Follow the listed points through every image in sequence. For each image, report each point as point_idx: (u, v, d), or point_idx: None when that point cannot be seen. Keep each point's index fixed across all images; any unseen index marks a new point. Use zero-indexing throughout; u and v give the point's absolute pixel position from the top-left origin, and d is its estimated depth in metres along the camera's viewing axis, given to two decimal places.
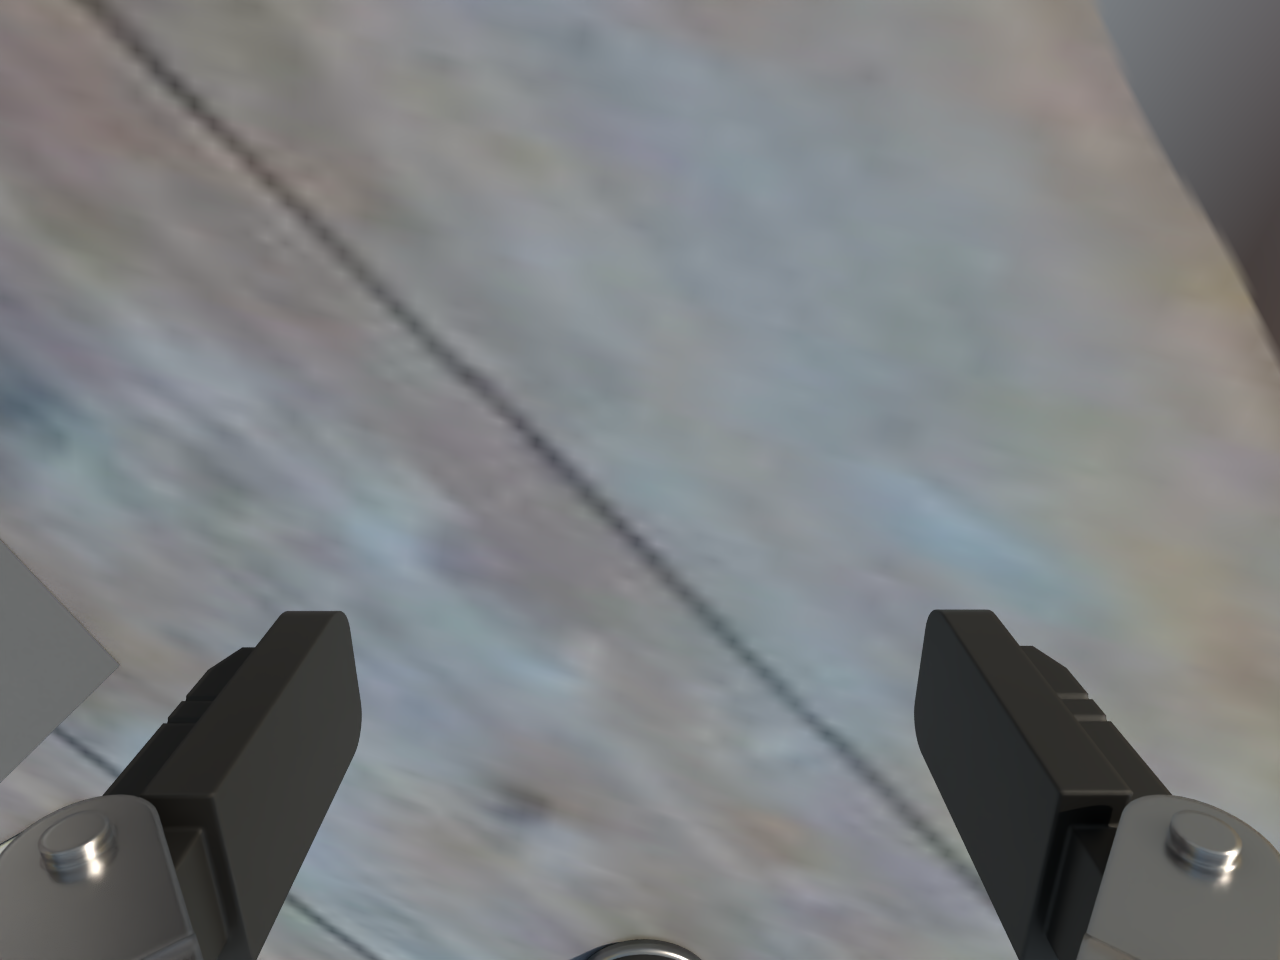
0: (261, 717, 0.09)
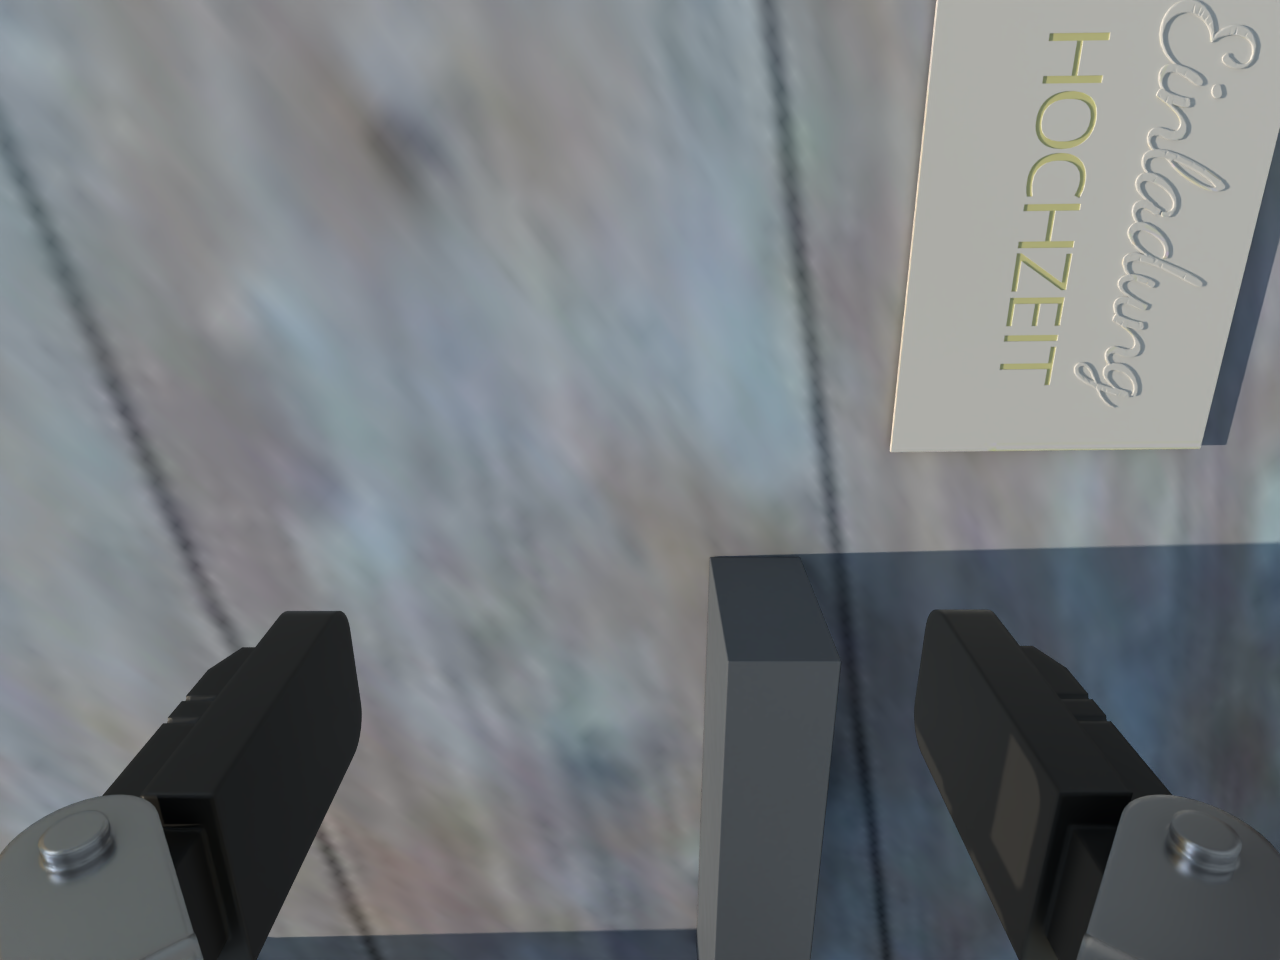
0: (260, 717, 0.09)
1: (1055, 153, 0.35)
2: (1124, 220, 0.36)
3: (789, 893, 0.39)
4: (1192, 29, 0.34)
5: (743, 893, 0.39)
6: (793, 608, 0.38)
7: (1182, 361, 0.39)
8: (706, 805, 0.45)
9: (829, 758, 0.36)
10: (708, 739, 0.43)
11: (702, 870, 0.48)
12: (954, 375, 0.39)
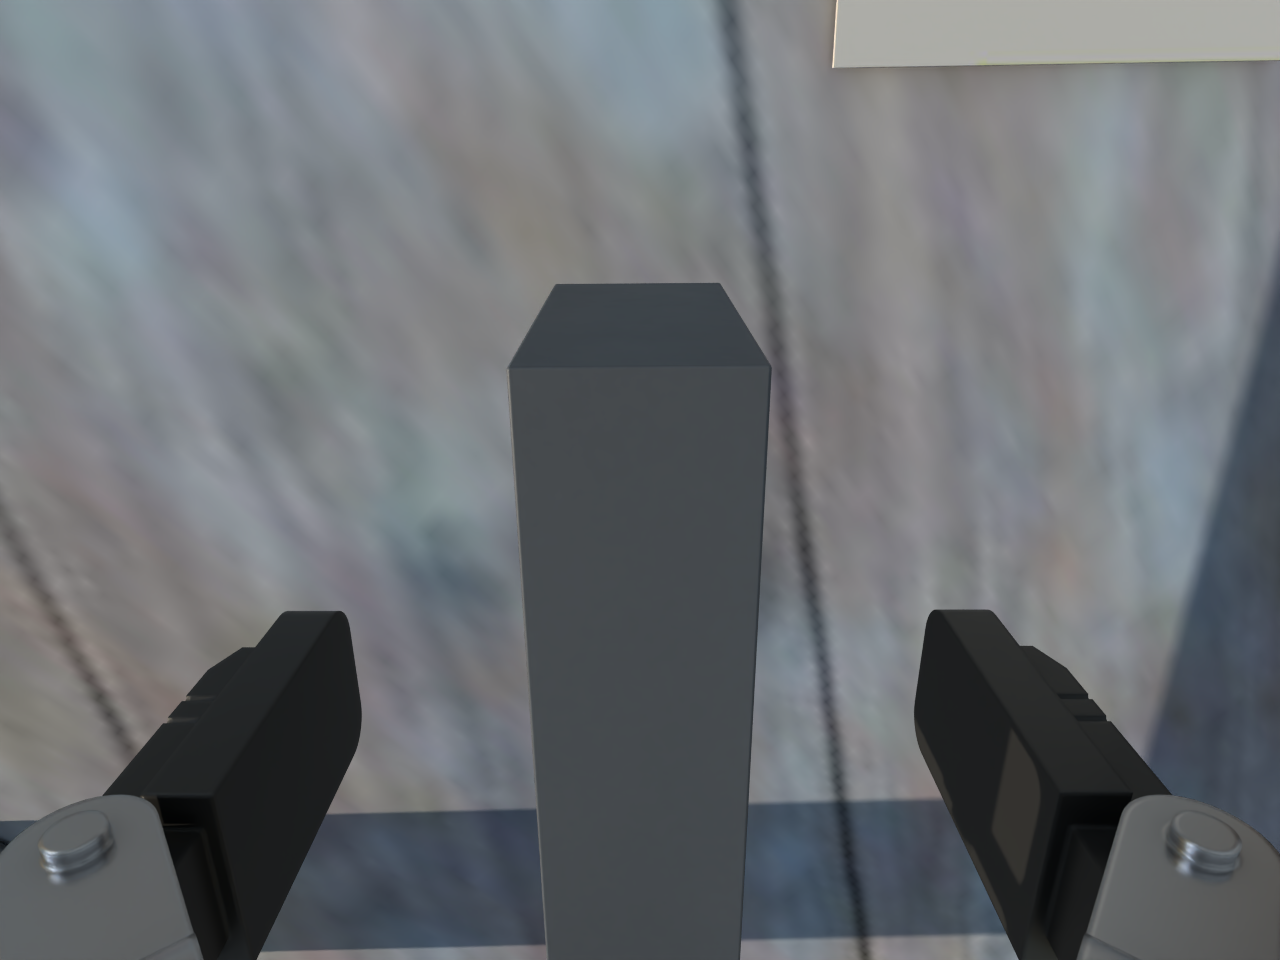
0: (260, 717, 0.09)
1: None
2: None
3: (688, 899, 0.19)
4: None
5: (595, 900, 0.19)
6: (687, 318, 0.19)
7: None
8: None
9: (754, 608, 0.16)
10: None
11: None
12: None
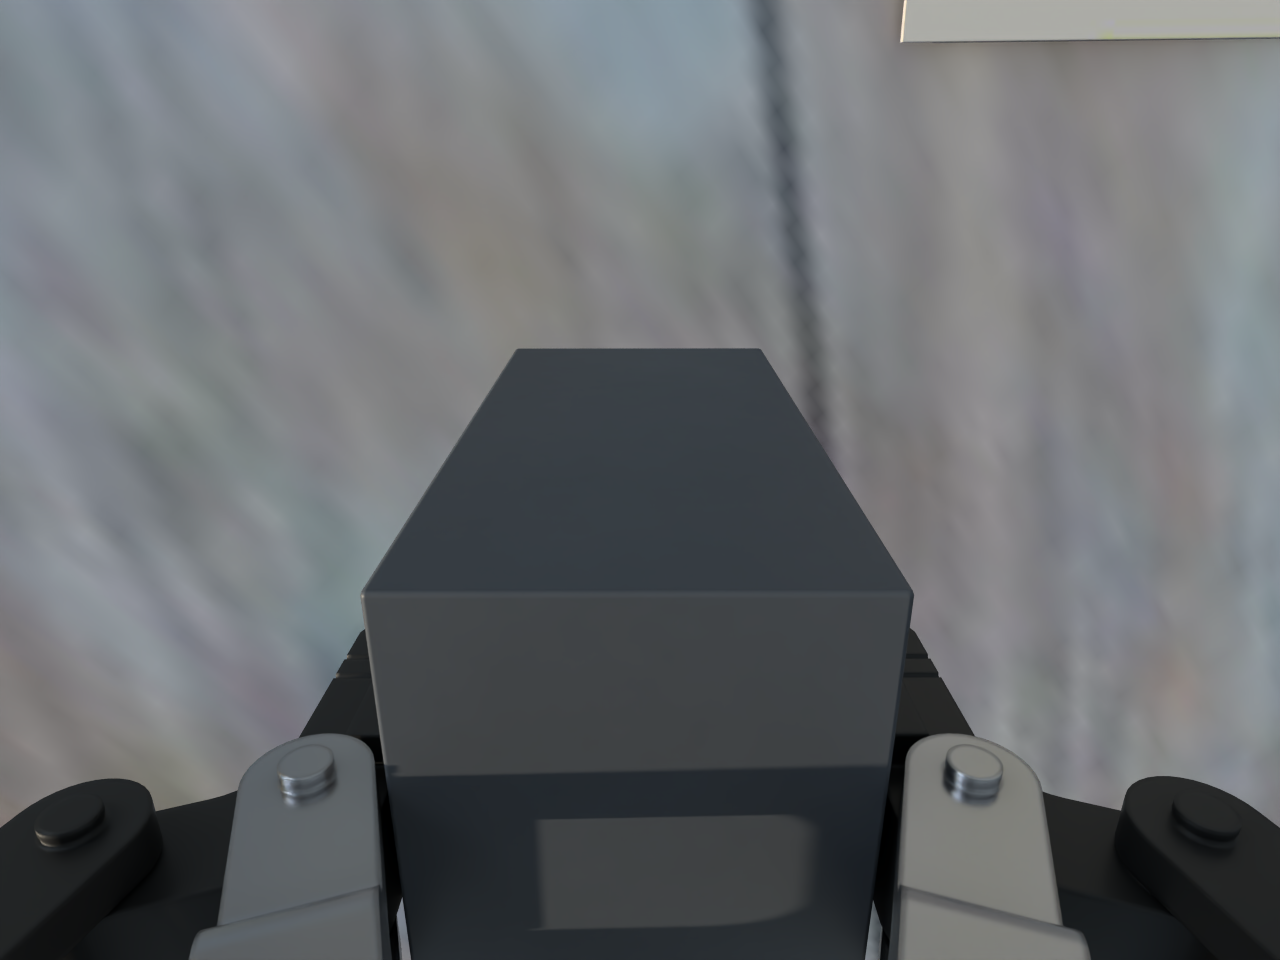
0: None
1: None
2: None
3: None
4: None
5: None
6: (721, 433, 0.11)
7: None
8: None
9: None
10: None
11: None
12: None
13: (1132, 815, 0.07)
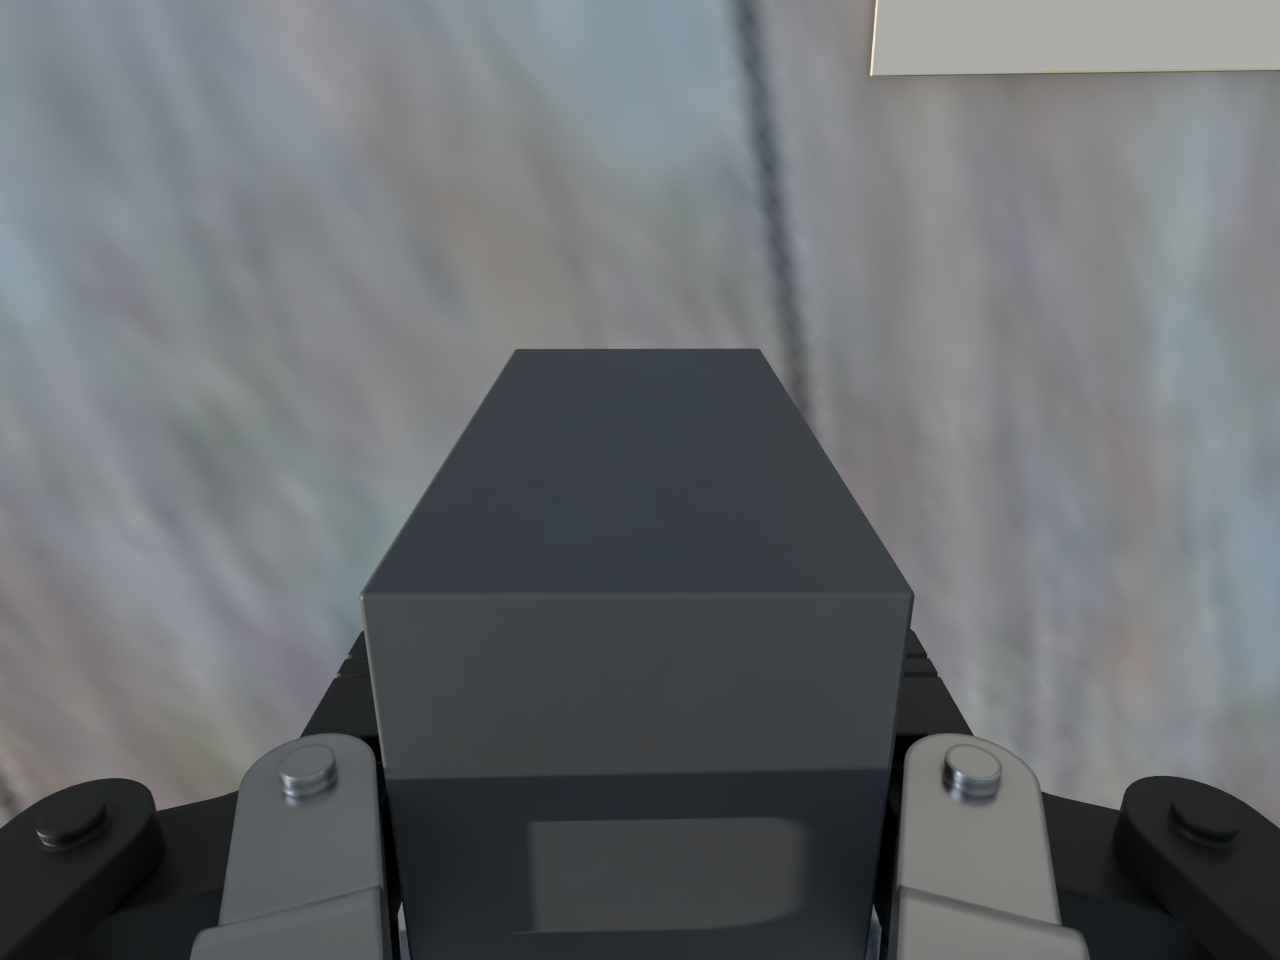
0: None
1: None
2: None
3: None
4: None
5: None
6: (720, 434, 0.11)
7: None
8: None
9: None
10: None
11: None
12: None
13: (1131, 815, 0.07)
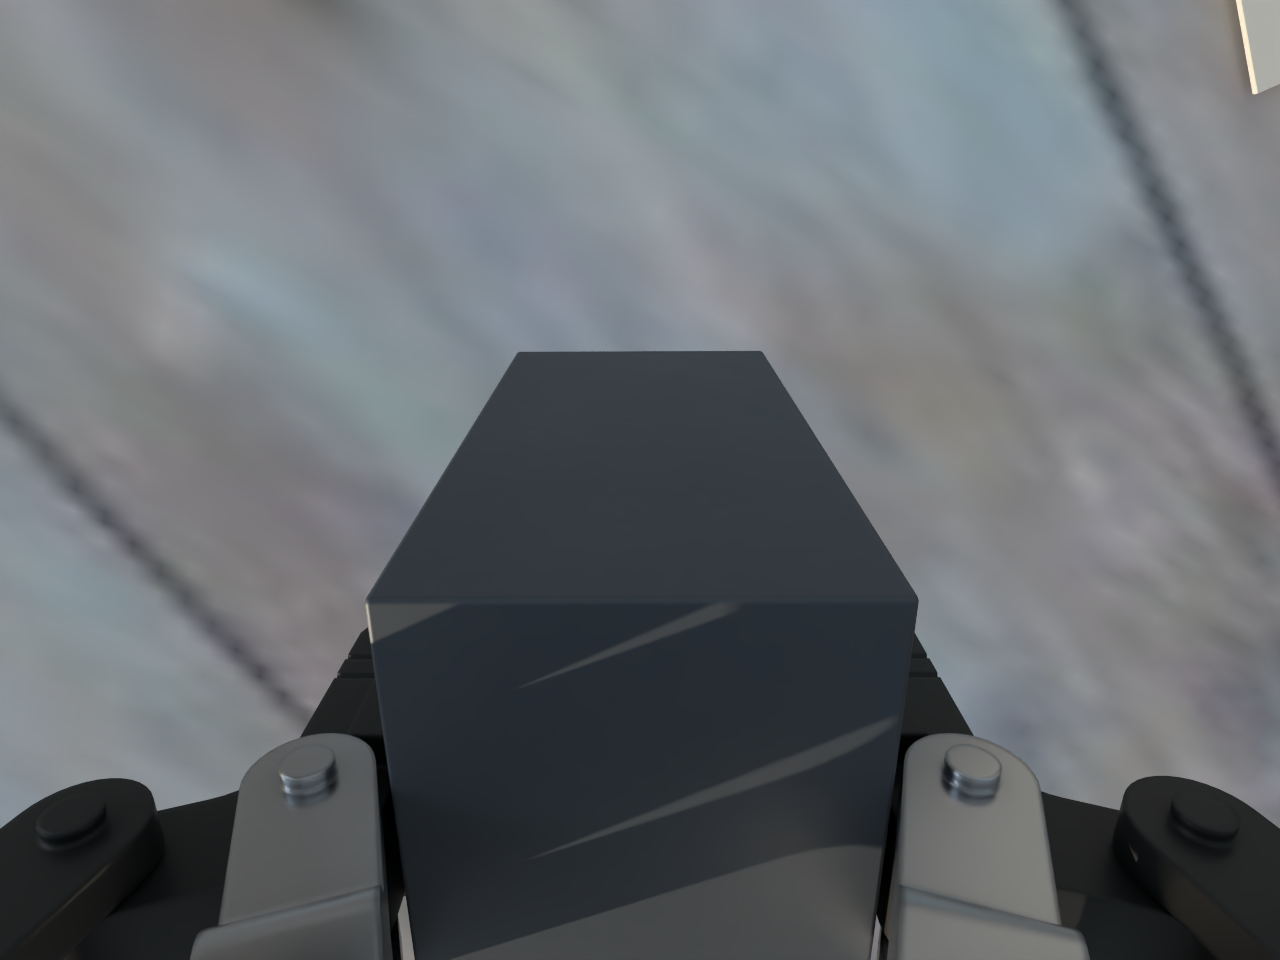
0: None
1: None
2: None
3: None
4: None
5: None
6: (724, 437, 0.11)
7: None
8: None
9: None
10: None
11: None
12: None
13: (1131, 815, 0.07)
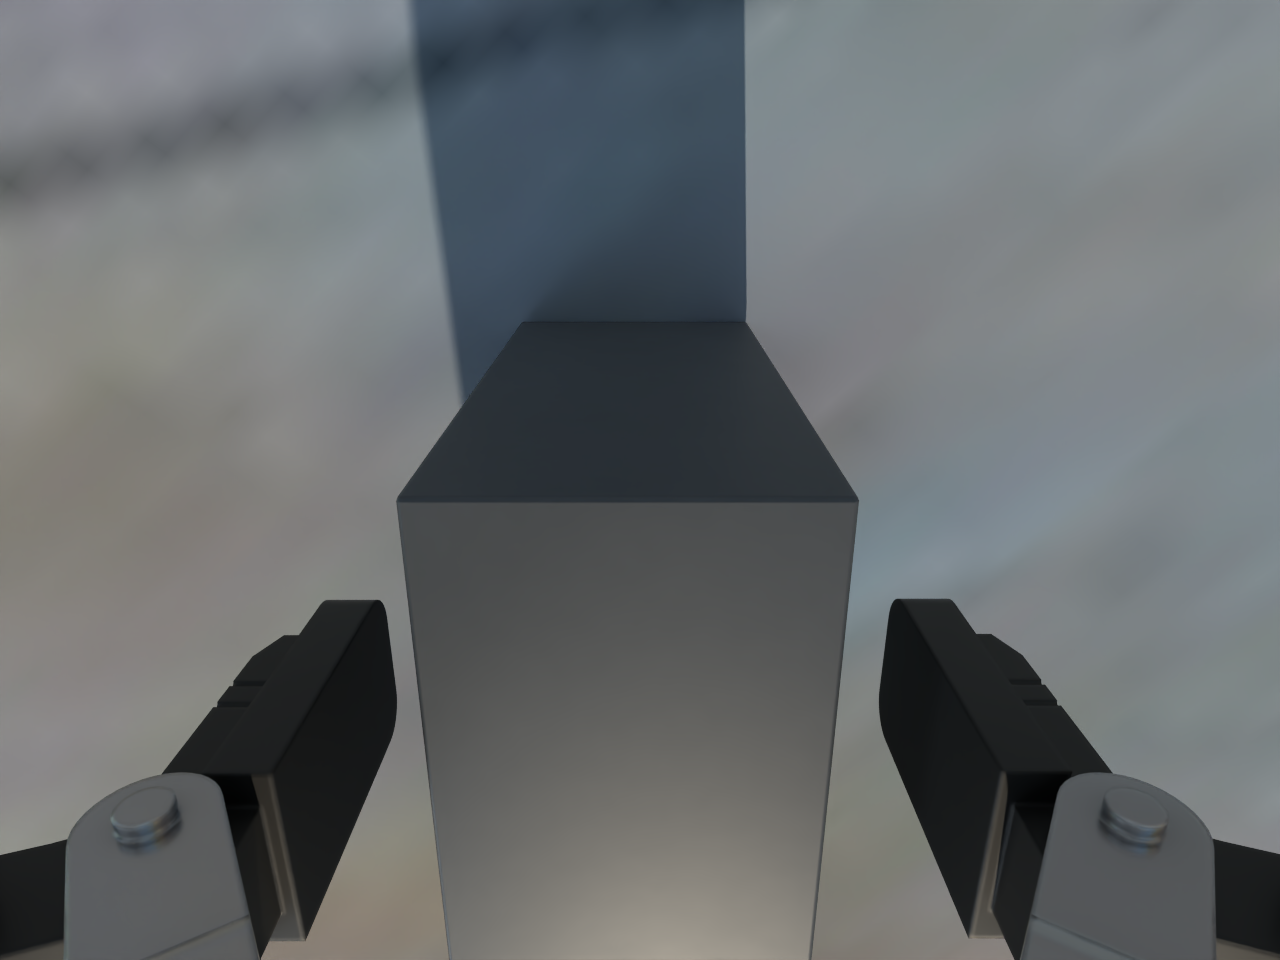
0: (311, 700, 0.09)
1: None
2: None
3: None
4: None
5: None
6: (705, 387, 0.12)
7: None
8: None
9: (814, 870, 0.10)
10: None
11: None
12: None
13: None
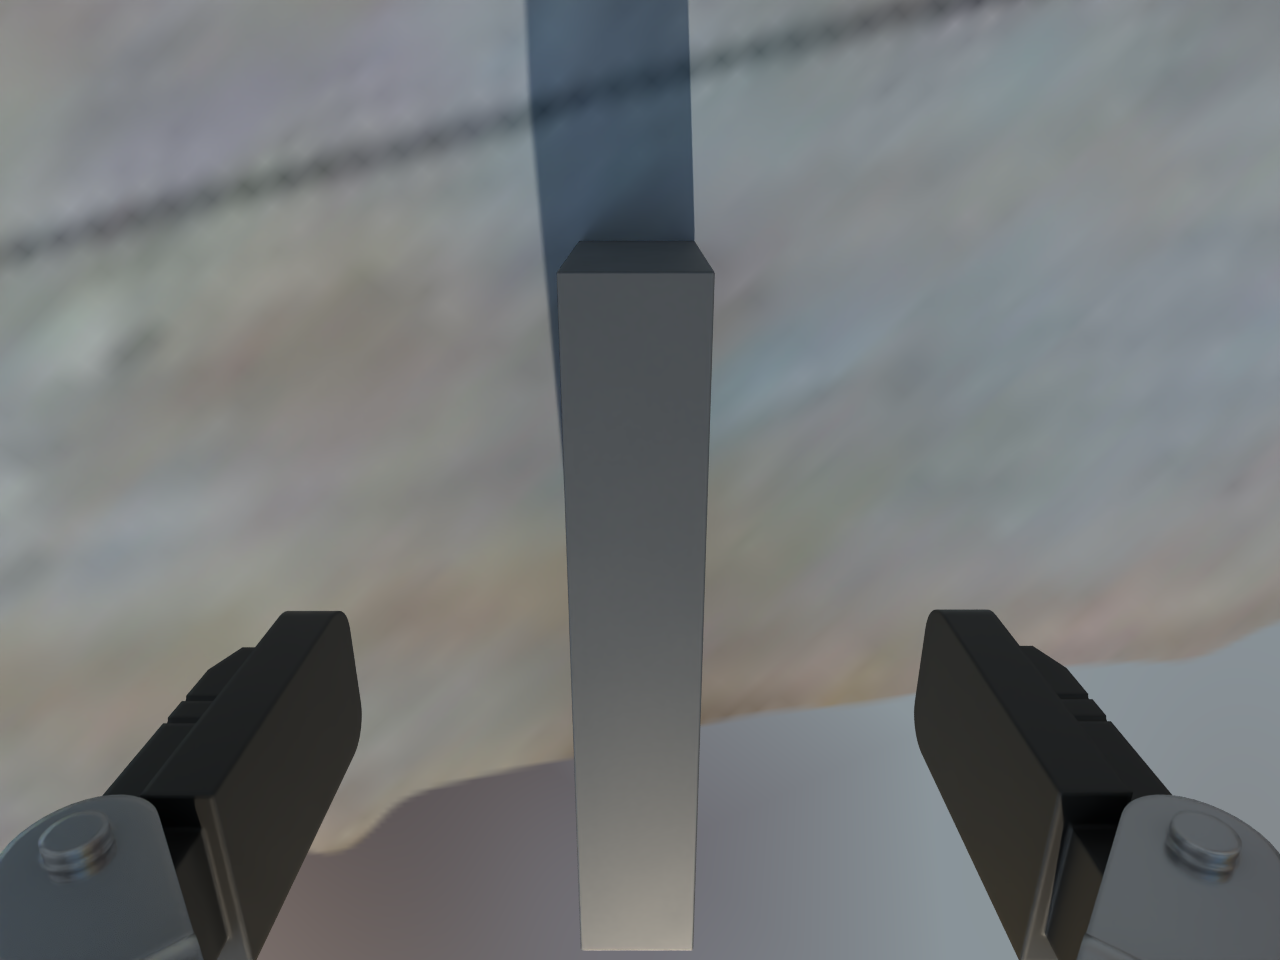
0: (260, 717, 0.09)
1: None
2: None
3: (666, 641, 0.29)
4: None
5: (604, 641, 0.29)
6: (668, 255, 0.29)
7: None
8: None
9: (706, 430, 0.26)
10: None
11: None
12: None
13: None
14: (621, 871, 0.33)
